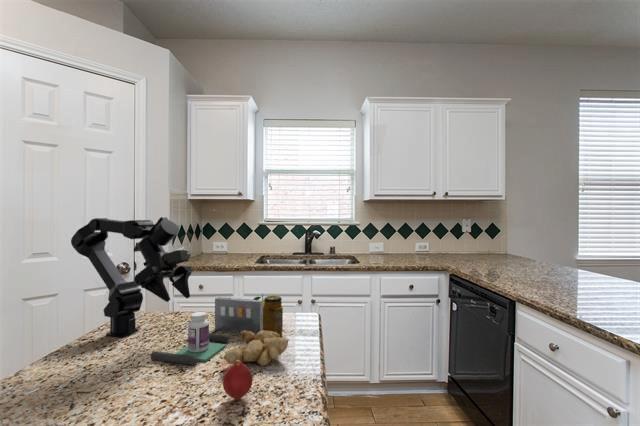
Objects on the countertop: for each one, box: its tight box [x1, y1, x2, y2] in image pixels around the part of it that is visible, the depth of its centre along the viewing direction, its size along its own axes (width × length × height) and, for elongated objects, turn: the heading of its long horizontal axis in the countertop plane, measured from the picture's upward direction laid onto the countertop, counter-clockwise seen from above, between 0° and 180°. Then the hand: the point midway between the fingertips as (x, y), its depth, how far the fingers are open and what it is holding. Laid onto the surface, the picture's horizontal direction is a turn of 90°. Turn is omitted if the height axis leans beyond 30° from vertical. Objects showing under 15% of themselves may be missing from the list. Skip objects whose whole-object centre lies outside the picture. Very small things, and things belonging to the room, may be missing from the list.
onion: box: [222, 360, 253, 401], centre depth 65 cm, size 6×6×8 cm
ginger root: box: [222, 330, 289, 367], centre depth 84 cm, size 16×16×8 cm
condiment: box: [263, 295, 290, 341], centre depth 99 cm, size 7×8×12 cm
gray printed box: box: [214, 296, 264, 335], centre depth 104 cm, size 16×3×10 cm, turn 76°
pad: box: [174, 342, 227, 363], centre depth 88 cm, size 10×10×1 cm
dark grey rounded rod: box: [149, 350, 199, 366], centre depth 82 cm, size 13×2×2 cm, turn 76°
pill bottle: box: [187, 311, 210, 353], centre depth 88 cm, size 5×5×10 cm
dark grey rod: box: [209, 332, 230, 343], centre depth 96 cm, size 13×2×2 cm, turn 76°
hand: (179, 299), depth 93 cm, fingers open, 9 cm apart
